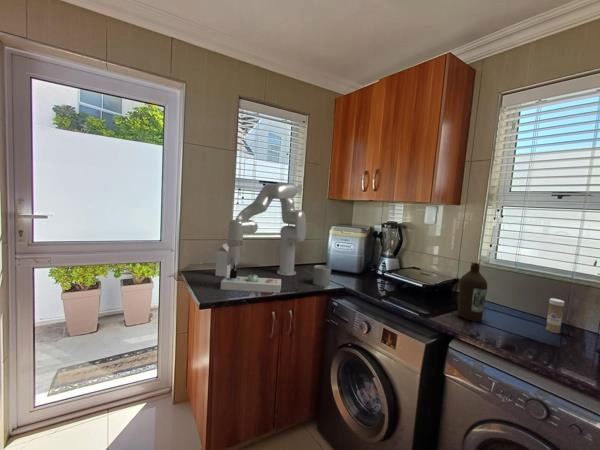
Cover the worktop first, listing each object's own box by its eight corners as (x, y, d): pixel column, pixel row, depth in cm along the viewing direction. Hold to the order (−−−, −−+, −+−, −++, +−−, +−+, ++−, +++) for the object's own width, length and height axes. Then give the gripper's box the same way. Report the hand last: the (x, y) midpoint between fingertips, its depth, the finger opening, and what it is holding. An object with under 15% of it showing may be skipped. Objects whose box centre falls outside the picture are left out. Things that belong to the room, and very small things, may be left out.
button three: (248, 282, 151) (248, 273, 151) (257, 282, 151) (258, 274, 151) (246, 284, 146) (247, 276, 146) (256, 285, 146) (256, 276, 146)
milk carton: (230, 274, 174) (232, 243, 172) (226, 277, 167) (228, 245, 165) (219, 273, 174) (221, 242, 173) (215, 275, 167) (216, 244, 166)
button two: (229, 284, 151) (230, 276, 151) (238, 284, 151) (239, 276, 151) (227, 287, 146) (227, 278, 146) (236, 287, 146) (237, 279, 146)
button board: (226, 282, 155) (226, 275, 154) (280, 286, 155) (281, 279, 155) (220, 289, 143) (221, 281, 142) (279, 293, 143) (280, 285, 143)
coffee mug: (327, 287, 160) (328, 269, 159) (310, 284, 163) (311, 267, 162) (332, 281, 172) (334, 265, 171) (317, 279, 176) (318, 263, 175)
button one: (266, 286, 152) (267, 278, 151) (275, 287, 152) (276, 279, 151) (265, 289, 147) (266, 281, 146) (275, 290, 147) (275, 281, 146)
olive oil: (450, 313, 131) (456, 260, 129) (469, 312, 133) (475, 260, 131) (469, 322, 120) (475, 265, 119) (489, 322, 123) (496, 265, 121)
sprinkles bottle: (545, 331, 117) (549, 299, 116) (545, 327, 120) (549, 297, 119) (560, 334, 114) (565, 302, 113) (560, 331, 117) (564, 300, 116)
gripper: (231, 241, 155) (229, 274, 156) (224, 244, 140) (222, 281, 141) (244, 242, 155) (242, 274, 156) (239, 245, 140) (237, 282, 141)
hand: (233, 277), depth 148 cm, fingers closed
